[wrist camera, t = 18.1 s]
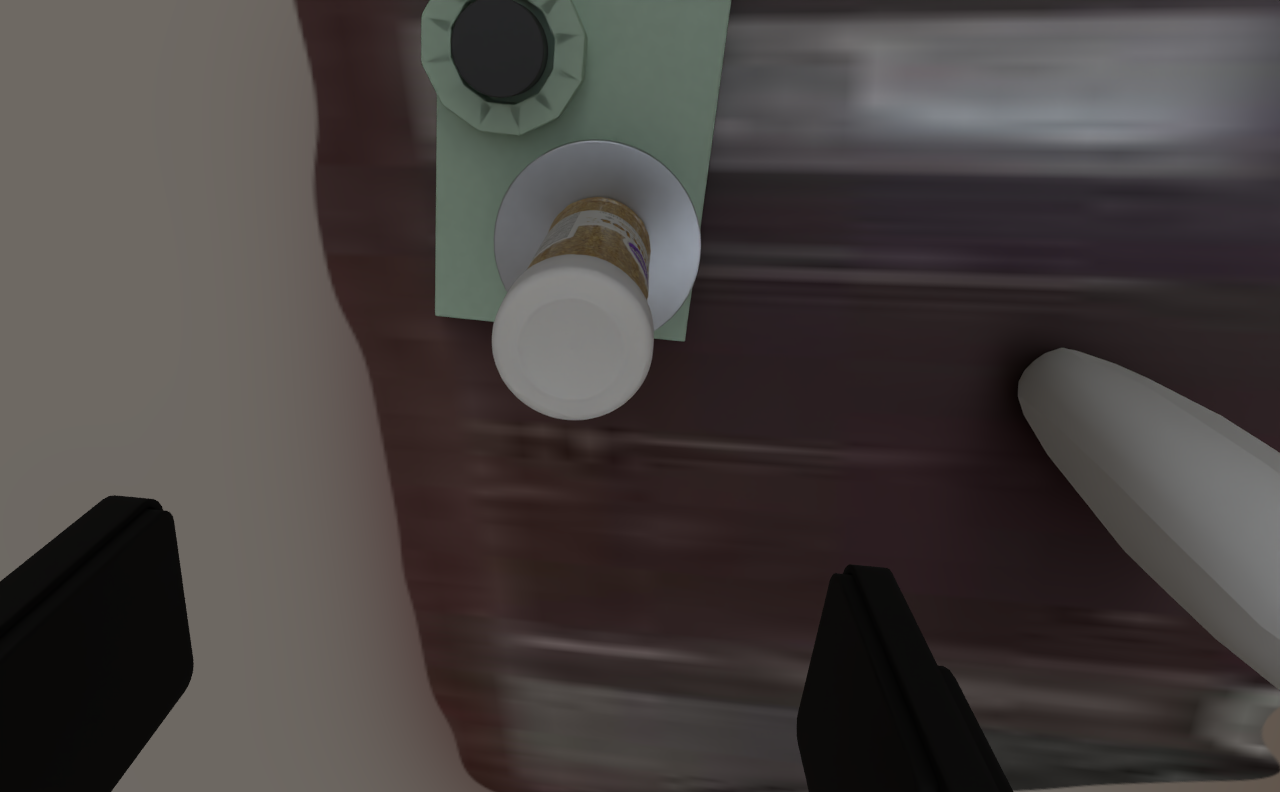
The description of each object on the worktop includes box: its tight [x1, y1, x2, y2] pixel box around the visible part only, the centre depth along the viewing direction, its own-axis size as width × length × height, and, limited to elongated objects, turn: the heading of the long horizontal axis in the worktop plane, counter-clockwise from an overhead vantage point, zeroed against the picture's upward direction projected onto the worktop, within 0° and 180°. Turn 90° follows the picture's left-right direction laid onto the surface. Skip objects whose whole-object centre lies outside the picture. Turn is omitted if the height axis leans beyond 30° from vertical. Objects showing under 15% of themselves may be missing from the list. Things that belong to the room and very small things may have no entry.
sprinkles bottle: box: [492, 197, 654, 420], centre depth 28 cm, size 5×4×14 cm
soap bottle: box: [1018, 348, 1280, 690], centre depth 29 cm, size 14×8×27 cm, turn 47°
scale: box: [421, 0, 731, 341], centre depth 35 cm, size 16×12×3 cm
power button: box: [451, 0, 548, 98], centre depth 31 cm, size 4×4×2 cm
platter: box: [494, 139, 702, 331], centre depth 34 cm, size 9×9×1 cm
